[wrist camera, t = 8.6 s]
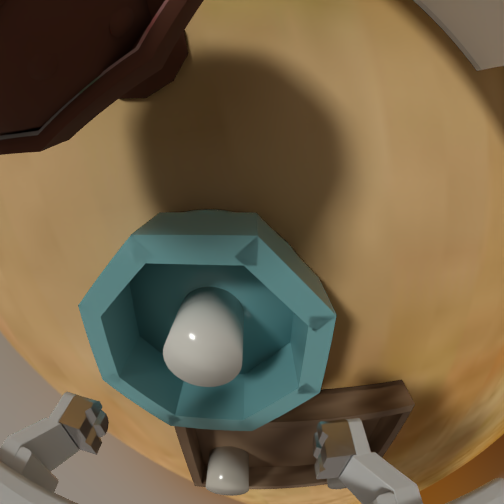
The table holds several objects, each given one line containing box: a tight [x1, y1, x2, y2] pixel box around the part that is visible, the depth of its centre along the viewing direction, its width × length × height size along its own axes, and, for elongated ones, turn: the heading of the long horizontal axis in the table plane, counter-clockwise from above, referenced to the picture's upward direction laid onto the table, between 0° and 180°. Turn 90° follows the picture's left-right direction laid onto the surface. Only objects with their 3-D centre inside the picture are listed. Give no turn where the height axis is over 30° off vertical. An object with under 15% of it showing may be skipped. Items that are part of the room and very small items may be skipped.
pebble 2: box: [206, 446, 249, 495], centre depth 21 cm, size 4×4×4 cm
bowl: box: [78, 209, 337, 431], centre depth 15 cm, size 12×12×5 cm
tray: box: [175, 380, 415, 489], centre depth 21 cm, size 18×13×3 cm
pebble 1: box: [163, 287, 244, 387], centre depth 15 cm, size 4×4×4 cm
